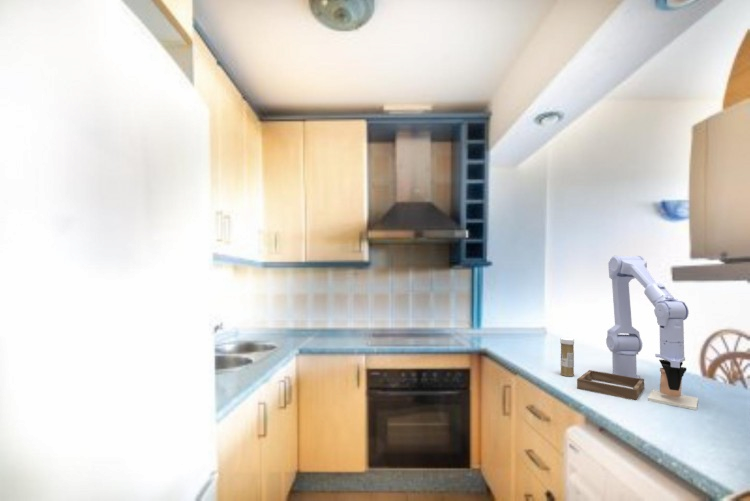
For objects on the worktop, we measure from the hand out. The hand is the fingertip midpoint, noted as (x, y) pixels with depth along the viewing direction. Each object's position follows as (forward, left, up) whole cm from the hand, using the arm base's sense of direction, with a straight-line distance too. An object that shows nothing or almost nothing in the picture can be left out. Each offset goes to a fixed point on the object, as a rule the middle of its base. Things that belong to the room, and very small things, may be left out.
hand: (672, 387), depth 113 cm
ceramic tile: (0, 0, -4) cm, 4 cm away
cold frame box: (0, -16, -4) cm, 16 cm away
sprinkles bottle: (-7, -31, -4) cm, 32 cm away
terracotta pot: (0, -1, -2) cm, 2 cm away
